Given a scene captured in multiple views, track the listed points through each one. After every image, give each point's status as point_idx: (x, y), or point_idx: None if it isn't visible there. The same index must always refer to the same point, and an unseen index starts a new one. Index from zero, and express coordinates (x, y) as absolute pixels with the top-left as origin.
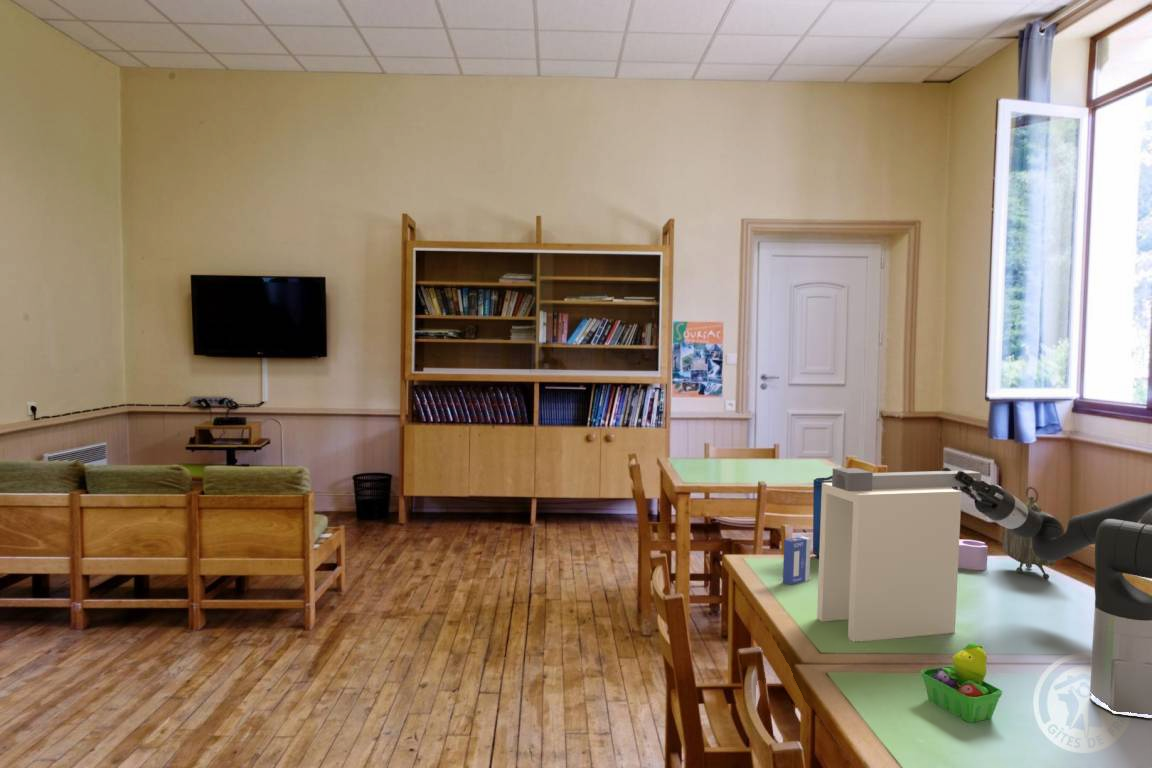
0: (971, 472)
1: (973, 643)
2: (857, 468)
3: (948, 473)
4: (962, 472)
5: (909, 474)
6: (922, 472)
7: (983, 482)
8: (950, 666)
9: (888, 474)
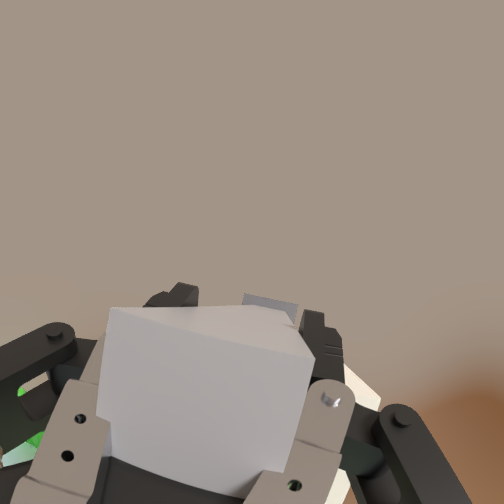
0: (185, 316)
1: (20, 387)
2: (292, 303)
3: (221, 308)
4: (175, 289)
5: (247, 306)
6: (271, 314)
7: (51, 328)
8: (40, 432)
9: (260, 307)
